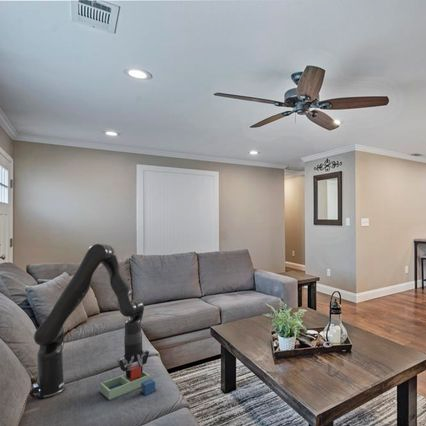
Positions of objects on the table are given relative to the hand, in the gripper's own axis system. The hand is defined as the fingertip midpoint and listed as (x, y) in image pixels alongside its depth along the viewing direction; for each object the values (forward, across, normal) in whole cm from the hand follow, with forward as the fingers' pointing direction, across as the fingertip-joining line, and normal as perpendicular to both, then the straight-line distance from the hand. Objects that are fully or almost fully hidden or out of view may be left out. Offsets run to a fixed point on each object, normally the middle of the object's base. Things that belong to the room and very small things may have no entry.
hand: (134, 375), depth 159 cm
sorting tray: (+4, +4, 0) cm, 6 cm away
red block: (0, 0, 0) cm, 0 cm away
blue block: (+4, -1, +13) cm, 14 cm away
